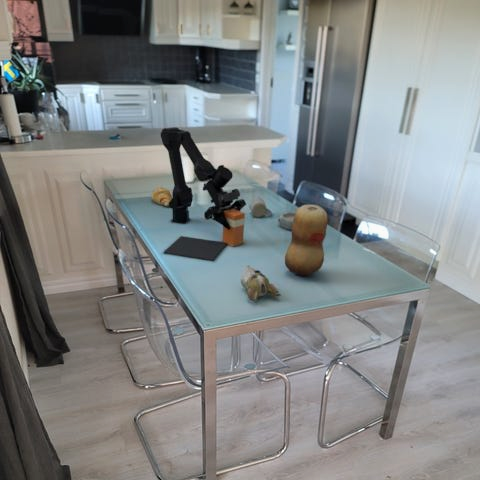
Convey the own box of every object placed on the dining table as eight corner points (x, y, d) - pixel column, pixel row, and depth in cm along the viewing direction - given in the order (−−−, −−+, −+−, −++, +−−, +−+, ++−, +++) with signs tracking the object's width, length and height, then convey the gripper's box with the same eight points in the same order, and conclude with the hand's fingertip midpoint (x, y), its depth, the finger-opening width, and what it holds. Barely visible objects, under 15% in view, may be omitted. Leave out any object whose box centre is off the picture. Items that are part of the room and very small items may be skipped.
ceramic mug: (251, 218, 221) (252, 202, 217) (248, 212, 228) (249, 196, 224) (273, 218, 222) (275, 202, 218) (269, 212, 229) (271, 197, 225)
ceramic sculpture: (261, 258, 159) (284, 279, 148) (259, 281, 164) (281, 302, 153) (233, 263, 155) (254, 285, 144) (232, 286, 159) (252, 309, 149)
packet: (222, 241, 194) (223, 211, 187) (232, 238, 197) (233, 208, 190) (233, 246, 190) (234, 216, 183) (242, 243, 193) (245, 213, 186)
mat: (163, 253, 181) (163, 251, 181) (181, 237, 196) (181, 236, 196) (212, 261, 177) (212, 259, 177) (227, 244, 192) (227, 242, 192)
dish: (316, 227, 214) (317, 216, 212) (297, 234, 205) (298, 223, 203) (290, 218, 223) (291, 208, 220) (272, 225, 214) (273, 214, 211)
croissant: (174, 214, 231) (181, 199, 229) (156, 206, 225) (163, 191, 223) (160, 200, 247) (166, 186, 245) (143, 193, 241) (149, 179, 238)
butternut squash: (295, 284, 163) (303, 214, 150) (277, 269, 173) (283, 202, 160) (329, 279, 168) (339, 211, 155) (309, 264, 178) (318, 199, 166)
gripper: (209, 186, 178) (228, 222, 177) (244, 179, 189) (262, 212, 188) (195, 202, 187) (214, 236, 186) (230, 194, 198) (247, 226, 197)
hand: (235, 227), depth 189 cm, fingers closed on packet, 6 cm apart
